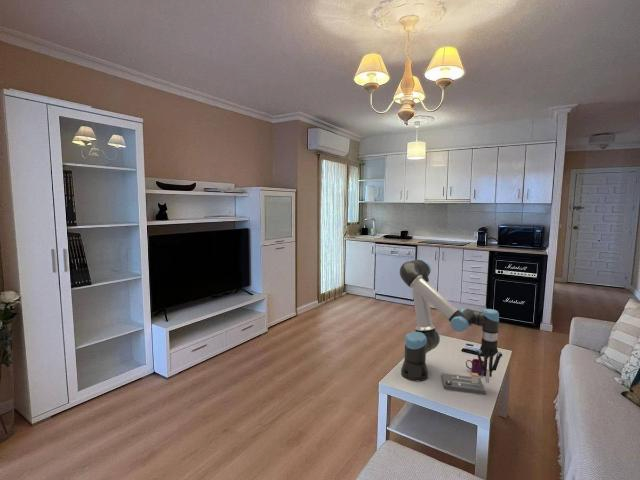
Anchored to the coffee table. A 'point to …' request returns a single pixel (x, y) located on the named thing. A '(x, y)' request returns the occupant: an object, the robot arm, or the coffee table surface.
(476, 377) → the fader
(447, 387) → the console
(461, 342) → the coffee table surface
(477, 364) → the mug
